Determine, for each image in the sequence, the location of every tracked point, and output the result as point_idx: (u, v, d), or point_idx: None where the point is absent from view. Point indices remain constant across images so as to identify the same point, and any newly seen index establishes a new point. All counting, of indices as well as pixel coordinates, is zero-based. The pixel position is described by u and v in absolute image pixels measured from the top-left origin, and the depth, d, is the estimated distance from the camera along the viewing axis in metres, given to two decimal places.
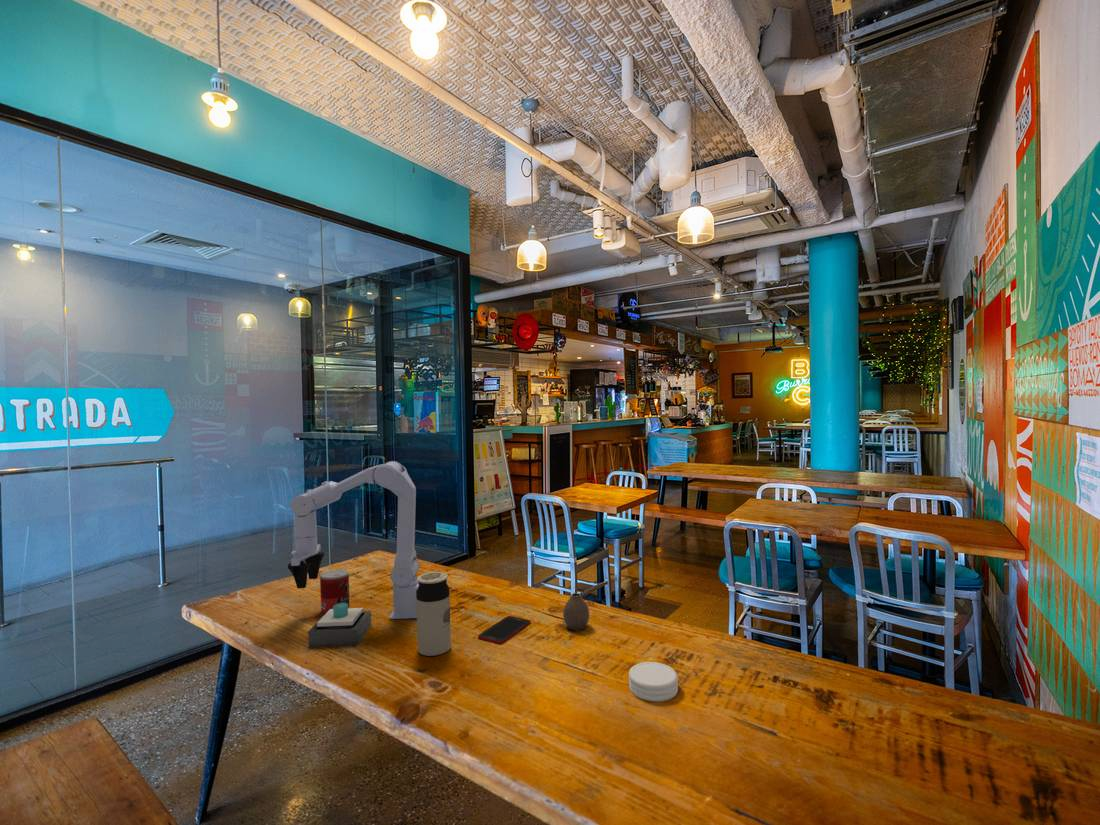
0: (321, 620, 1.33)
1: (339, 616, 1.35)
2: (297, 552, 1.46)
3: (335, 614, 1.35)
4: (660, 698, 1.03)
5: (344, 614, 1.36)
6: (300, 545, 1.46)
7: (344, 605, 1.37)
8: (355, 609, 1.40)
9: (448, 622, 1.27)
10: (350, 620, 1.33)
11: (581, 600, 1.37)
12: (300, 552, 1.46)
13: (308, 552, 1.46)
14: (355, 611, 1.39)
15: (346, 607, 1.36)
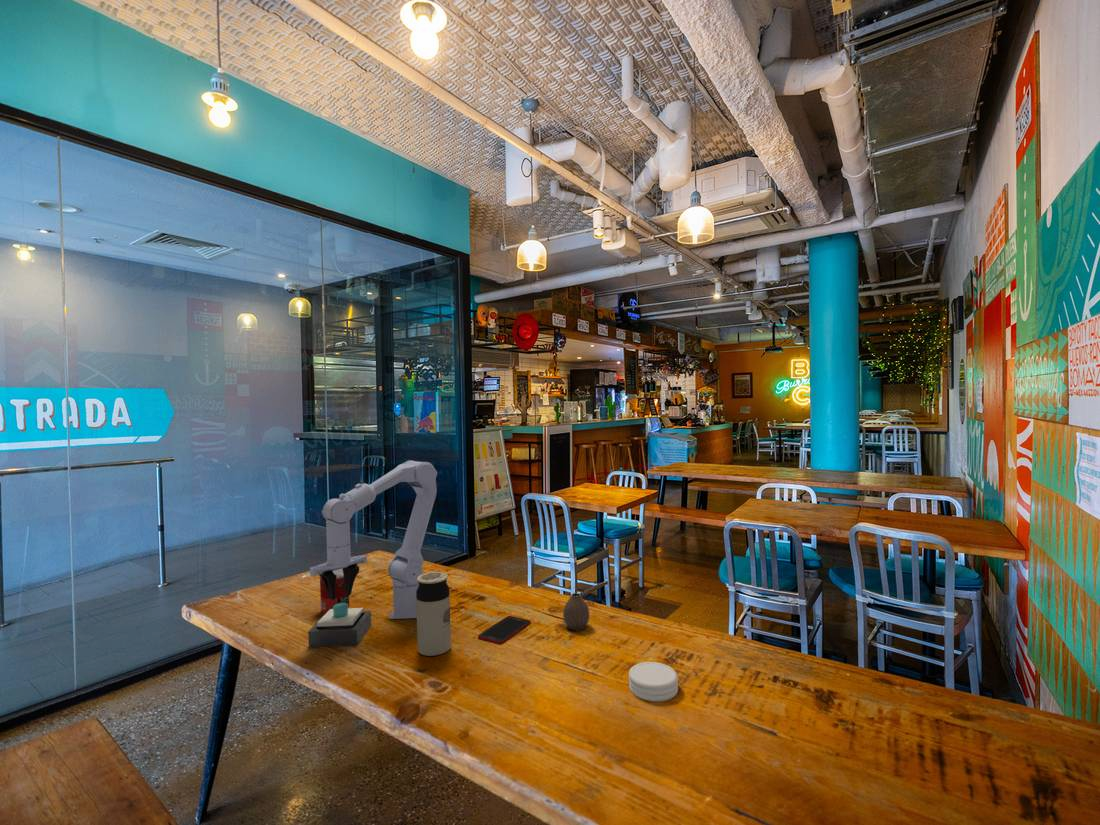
0: (321, 620, 1.33)
1: (339, 616, 1.35)
2: None
3: (335, 614, 1.35)
4: (660, 698, 1.03)
5: (344, 614, 1.36)
6: (327, 554, 1.34)
7: (344, 605, 1.37)
8: (355, 609, 1.40)
9: (448, 622, 1.27)
10: (350, 620, 1.33)
11: (581, 600, 1.37)
12: (327, 562, 1.35)
13: (332, 564, 1.34)
14: (355, 611, 1.39)
15: (346, 607, 1.36)
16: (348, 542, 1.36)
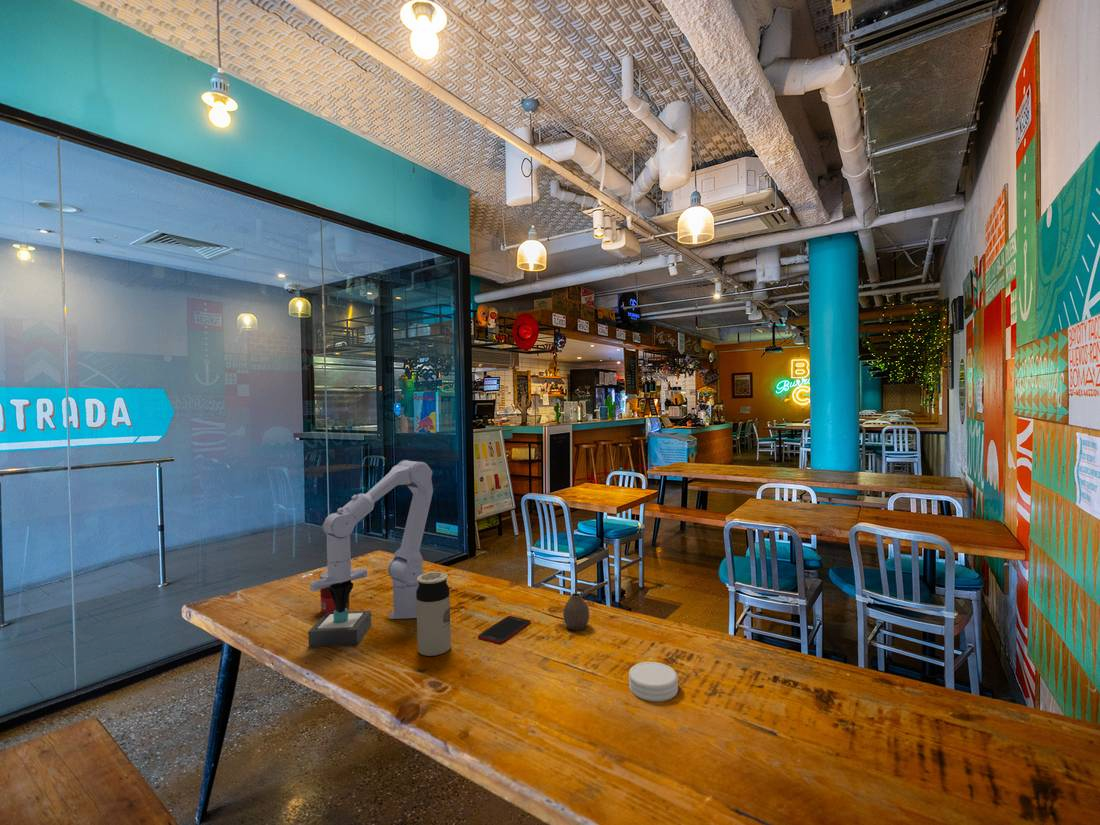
0: (321, 625, 1.33)
1: (339, 621, 1.35)
2: (327, 576, 1.36)
3: (335, 619, 1.35)
4: (660, 698, 1.03)
5: (344, 619, 1.36)
6: (328, 569, 1.35)
7: None
8: (355, 614, 1.40)
9: (448, 622, 1.27)
10: (350, 625, 1.33)
11: (581, 600, 1.37)
12: (328, 576, 1.35)
13: (333, 578, 1.34)
14: (355, 616, 1.39)
15: (346, 612, 1.36)
16: (348, 557, 1.36)
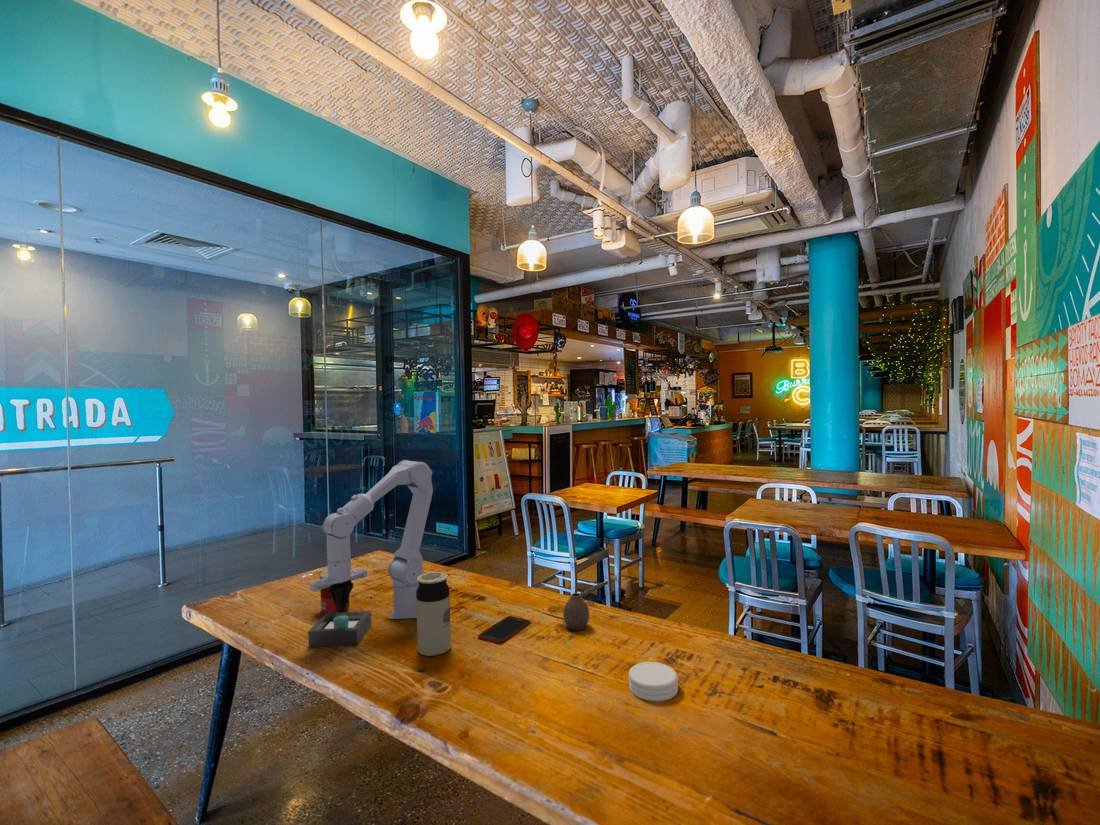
0: None
1: None
2: (328, 576, 1.36)
3: (335, 627, 1.35)
4: (660, 698, 1.03)
5: (344, 627, 1.36)
6: (328, 569, 1.35)
7: (344, 618, 1.37)
8: (355, 621, 1.40)
9: (448, 622, 1.27)
10: None
11: (581, 600, 1.37)
12: (328, 577, 1.35)
13: (333, 578, 1.34)
14: (355, 624, 1.39)
15: (346, 620, 1.36)
16: (348, 557, 1.36)
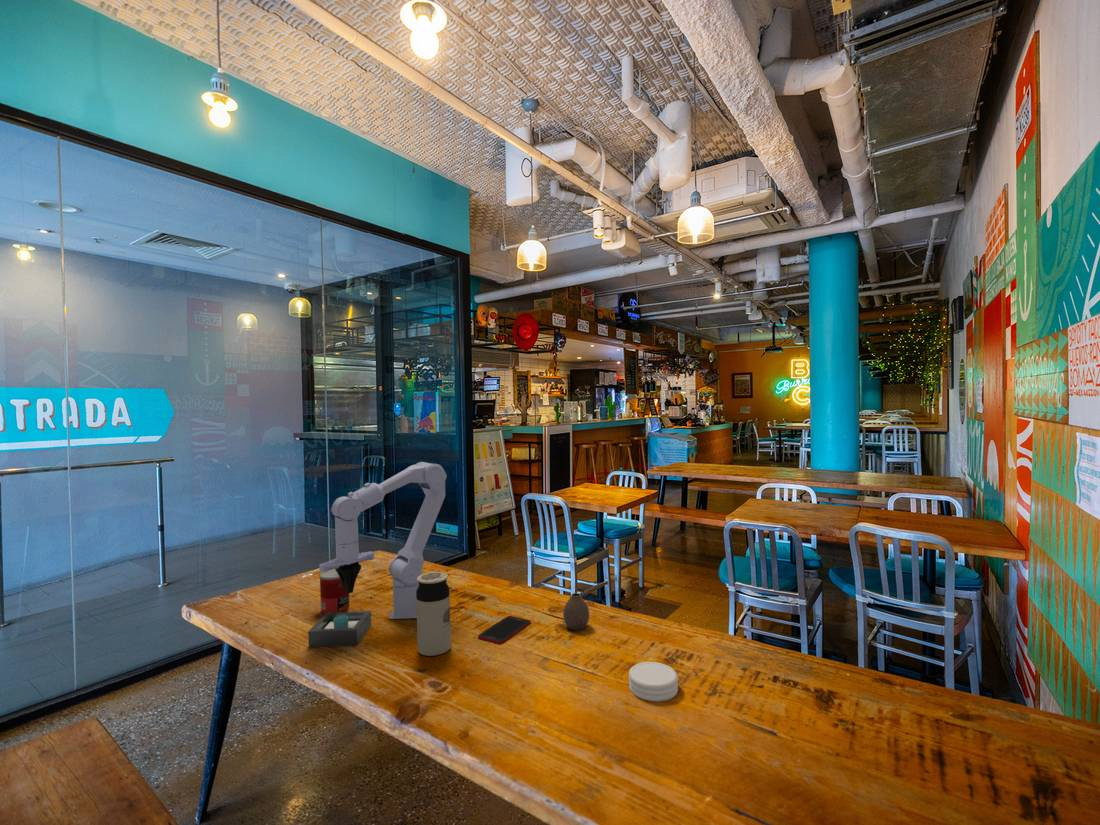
0: None
1: None
2: (336, 558, 1.39)
3: (335, 627, 1.35)
4: (660, 698, 1.03)
5: (344, 627, 1.36)
6: (336, 551, 1.38)
7: (344, 618, 1.37)
8: (355, 621, 1.40)
9: (448, 622, 1.27)
10: None
11: (581, 600, 1.37)
12: (336, 558, 1.38)
13: (341, 560, 1.37)
14: (355, 624, 1.39)
15: (346, 620, 1.36)
16: (356, 539, 1.39)
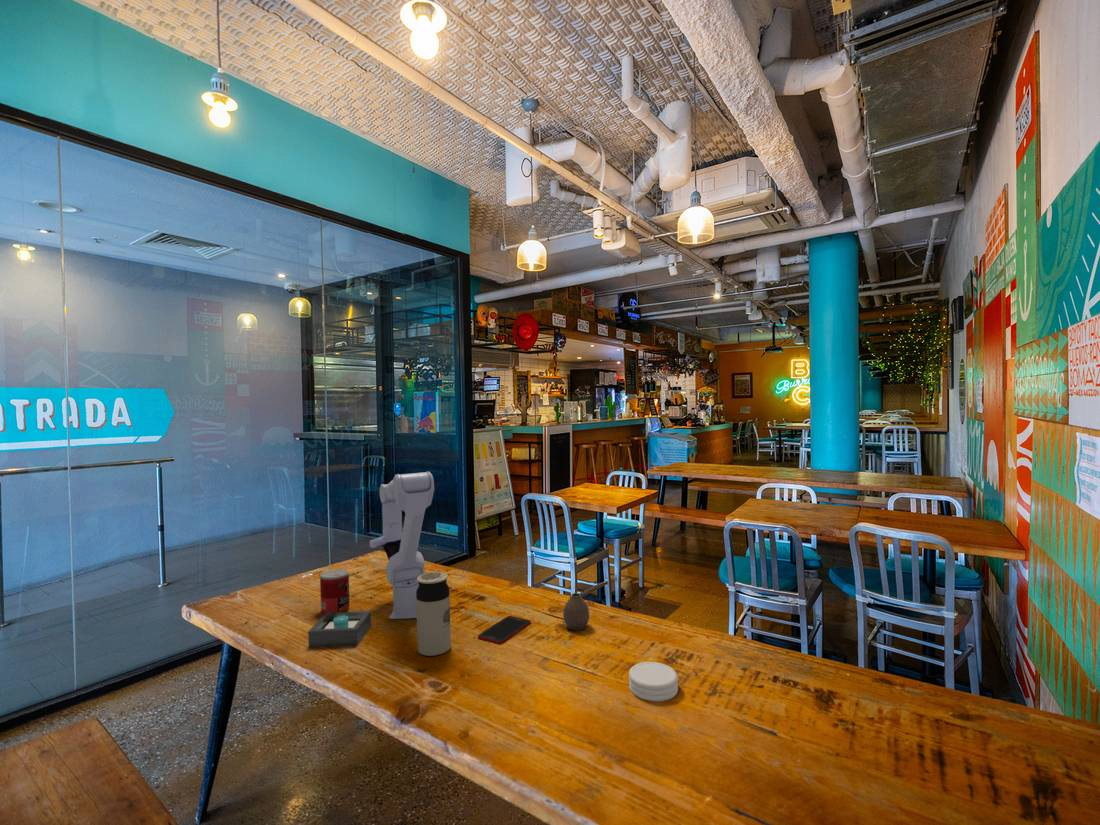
0: None
1: None
2: (383, 535, 1.61)
3: (335, 627, 1.35)
4: (660, 698, 1.03)
5: (344, 627, 1.36)
6: (383, 530, 1.60)
7: (344, 618, 1.37)
8: (355, 621, 1.40)
9: (448, 622, 1.27)
10: None
11: (581, 600, 1.37)
12: (383, 536, 1.60)
13: (388, 537, 1.59)
14: (355, 624, 1.39)
15: (346, 620, 1.36)
16: (385, 521, 1.59)
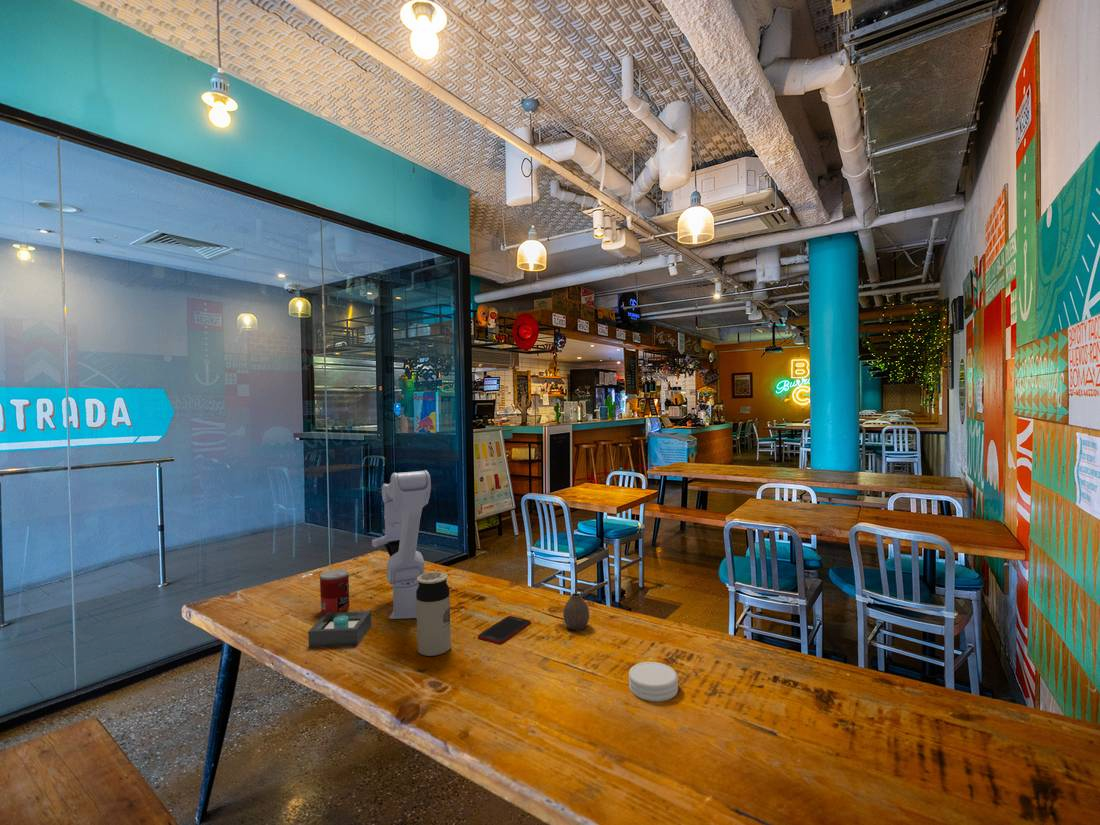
0: None
1: None
2: (385, 535, 1.62)
3: (335, 627, 1.35)
4: (660, 698, 1.03)
5: (344, 627, 1.36)
6: (385, 529, 1.61)
7: (344, 618, 1.37)
8: (355, 621, 1.40)
9: (448, 622, 1.27)
10: None
11: (581, 600, 1.37)
12: (385, 535, 1.61)
13: (390, 537, 1.60)
14: (355, 624, 1.39)
15: (346, 620, 1.36)
16: (387, 521, 1.60)
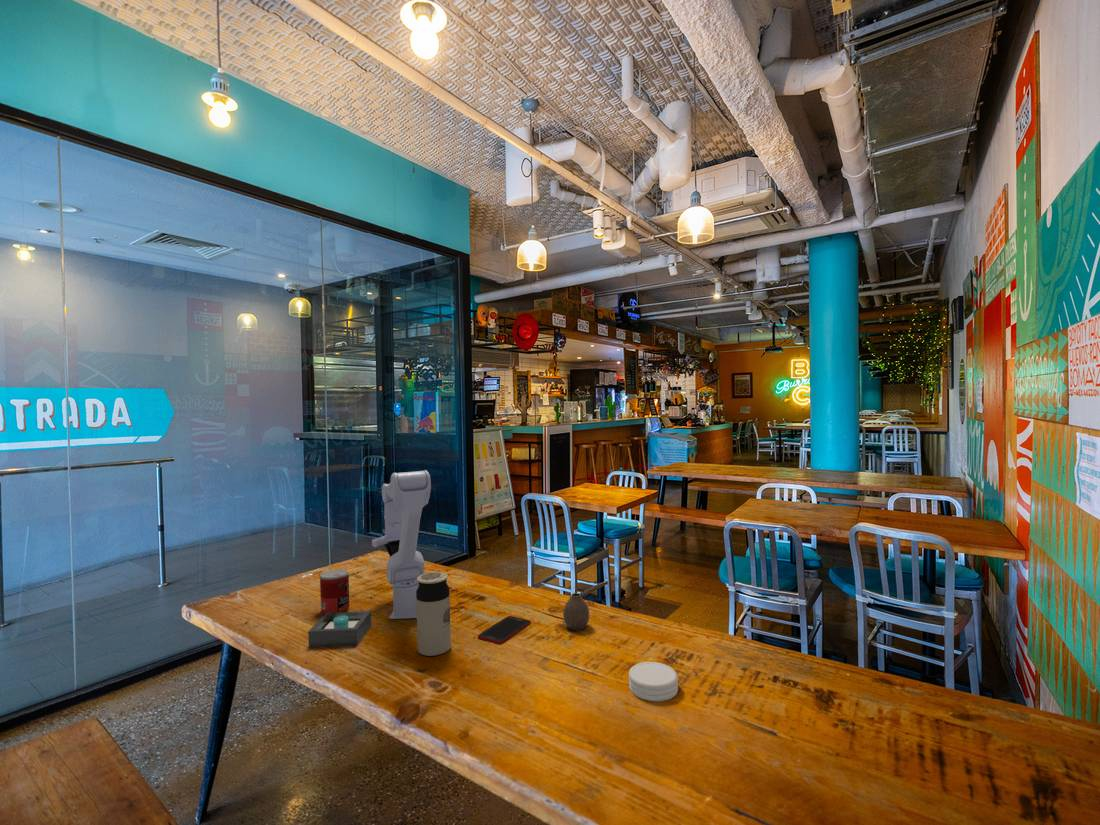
0: None
1: None
2: (385, 535, 1.62)
3: (335, 627, 1.35)
4: (660, 698, 1.03)
5: (344, 627, 1.36)
6: (385, 529, 1.61)
7: (344, 618, 1.37)
8: (355, 621, 1.40)
9: (448, 622, 1.27)
10: None
11: (581, 600, 1.37)
12: (385, 535, 1.61)
13: (390, 537, 1.60)
14: (355, 624, 1.39)
15: (346, 620, 1.36)
16: (387, 521, 1.60)
